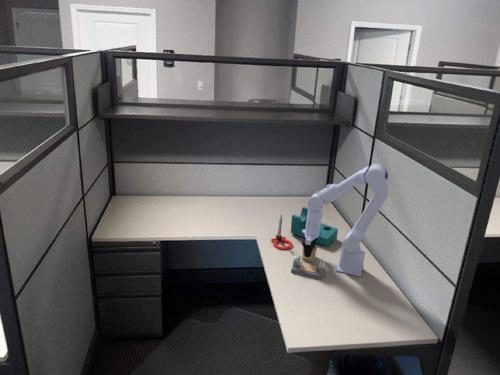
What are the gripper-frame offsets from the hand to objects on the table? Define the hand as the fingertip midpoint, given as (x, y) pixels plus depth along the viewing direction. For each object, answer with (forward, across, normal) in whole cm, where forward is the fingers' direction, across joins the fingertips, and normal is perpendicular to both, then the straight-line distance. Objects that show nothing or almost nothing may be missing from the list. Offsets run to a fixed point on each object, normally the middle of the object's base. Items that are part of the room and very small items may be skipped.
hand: (309, 252), depth 167 cm
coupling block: (+3, 0, 0) cm, 3 cm away
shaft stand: (+3, +10, +2) cm, 11 cm away
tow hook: (+3, -6, -13) cm, 15 cm away
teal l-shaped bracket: (+3, -20, -2) cm, 20 cm away
